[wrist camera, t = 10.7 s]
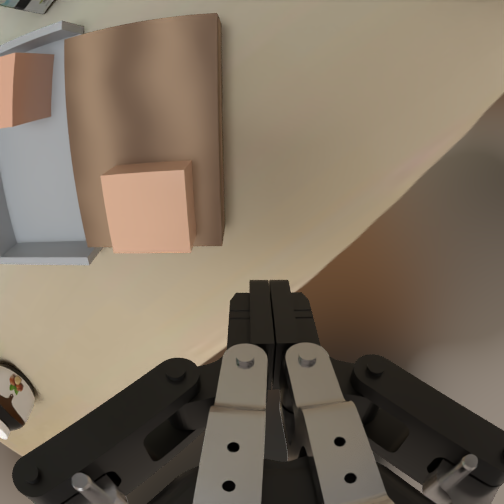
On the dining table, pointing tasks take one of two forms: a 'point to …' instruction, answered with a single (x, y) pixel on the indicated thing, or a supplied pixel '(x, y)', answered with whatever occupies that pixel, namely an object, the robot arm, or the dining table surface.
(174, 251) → the tile
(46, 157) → the box
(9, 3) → the tea box
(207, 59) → the brown slab
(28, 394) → the spread jar
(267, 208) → the dining table surface
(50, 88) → the tile
